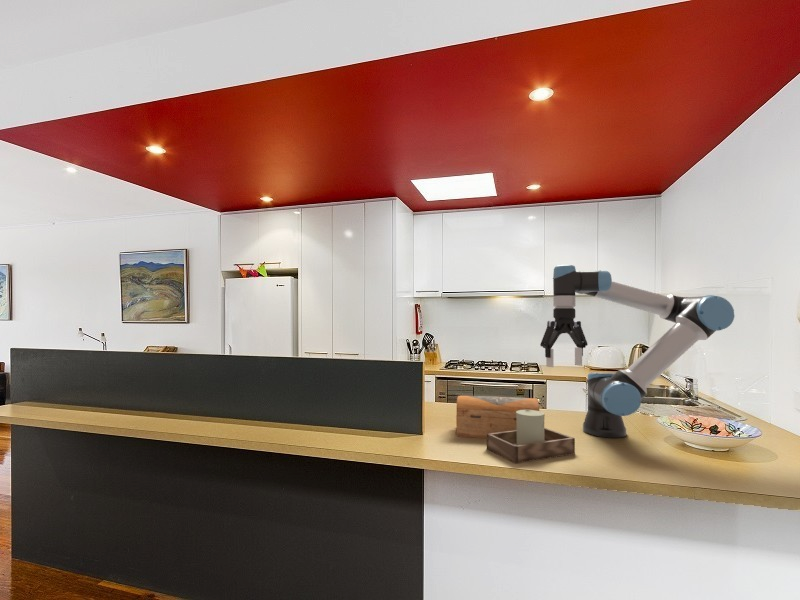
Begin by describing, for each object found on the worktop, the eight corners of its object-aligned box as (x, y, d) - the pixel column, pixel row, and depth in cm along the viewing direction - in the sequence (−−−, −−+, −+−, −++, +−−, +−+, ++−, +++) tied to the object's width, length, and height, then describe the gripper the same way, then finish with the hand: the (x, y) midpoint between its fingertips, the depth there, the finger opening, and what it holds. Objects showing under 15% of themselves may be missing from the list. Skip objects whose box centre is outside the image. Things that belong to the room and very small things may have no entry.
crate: (542, 440, 153) (542, 426, 153) (574, 453, 140) (574, 438, 140) (486, 448, 144) (486, 433, 144) (515, 463, 130) (515, 446, 130)
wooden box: (535, 430, 168) (535, 394, 168) (540, 442, 152) (540, 403, 152) (458, 425, 174) (458, 391, 174) (455, 437, 158) (456, 399, 158)
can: (539, 443, 146) (539, 408, 147) (549, 451, 137) (549, 414, 138) (512, 443, 146) (512, 408, 147) (521, 452, 137) (520, 414, 137)
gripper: (581, 308, 164) (581, 363, 163) (530, 307, 154) (530, 366, 153) (597, 308, 157) (598, 365, 157) (544, 307, 147) (545, 368, 147)
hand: (564, 366), depth 155 cm, fingers open, 13 cm apart
